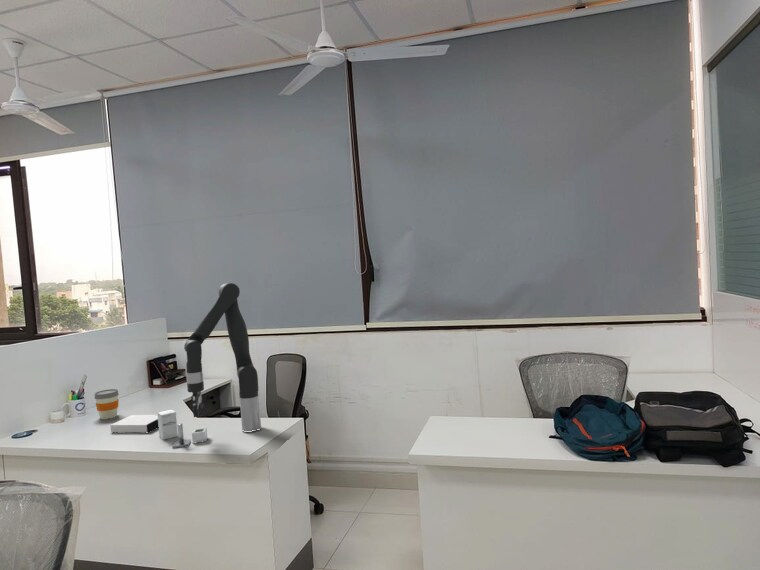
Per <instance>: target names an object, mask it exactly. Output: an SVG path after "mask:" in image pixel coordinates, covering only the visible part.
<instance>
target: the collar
mask: <svg viewBox="0 0 760 570" xmlns="http://www.w3.org/2000/svg"><path fill="white" fill-rule="evenodd" d="M191 437H192V439H191V440H192V444H196V443H195V442H201V443H203V442H202V441H206V442H207V440H208V427H203V428H195V429H193V430H192V432H191ZM206 439H207V440H206Z"/></svg>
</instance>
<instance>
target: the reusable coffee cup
mask: <svg viewBox="0 0 760 570" xmlns="http://www.w3.org/2000/svg"><path fill="white" fill-rule="evenodd" d="M94 399H95V407H96V410H97V412H98V415H99V419H100V420H108V418H110V419H113V417H114V418H116V417H117V416H118V408H119V402H120V401H119V390H118V389H117V388H112V389H111V388H110V389H103V390H99V391H96V392H95V393H94ZM115 416H116V417H115Z"/></svg>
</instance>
